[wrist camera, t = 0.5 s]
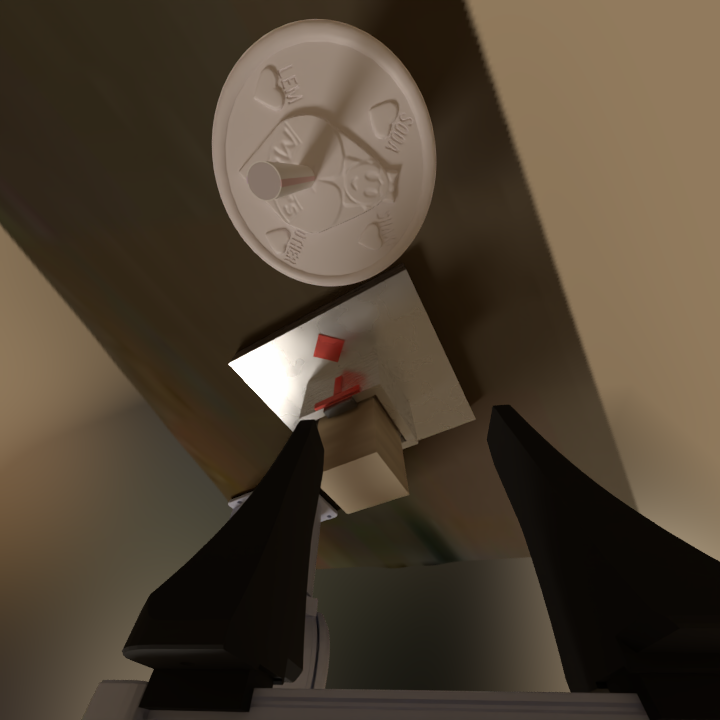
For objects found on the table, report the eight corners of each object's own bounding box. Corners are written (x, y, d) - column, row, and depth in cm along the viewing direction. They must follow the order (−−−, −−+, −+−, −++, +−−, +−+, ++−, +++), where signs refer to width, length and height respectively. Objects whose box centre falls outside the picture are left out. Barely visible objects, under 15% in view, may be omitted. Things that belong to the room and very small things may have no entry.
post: (350, 421, 24) (346, 515, 18) (322, 385, 22) (306, 476, 16) (396, 402, 23) (411, 494, 17) (371, 363, 21) (377, 450, 15)
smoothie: (280, 93, 15) (-42, -229, 3) (408, 107, 15) (593, -133, 3) (287, 231, 18) (152, 344, 6) (391, 241, 18) (448, 365, 7)
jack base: (332, 459, 29) (326, 518, 24) (236, 352, 23) (201, 403, 18) (470, 407, 26) (496, 463, 21) (403, 262, 19) (418, 294, 14)
